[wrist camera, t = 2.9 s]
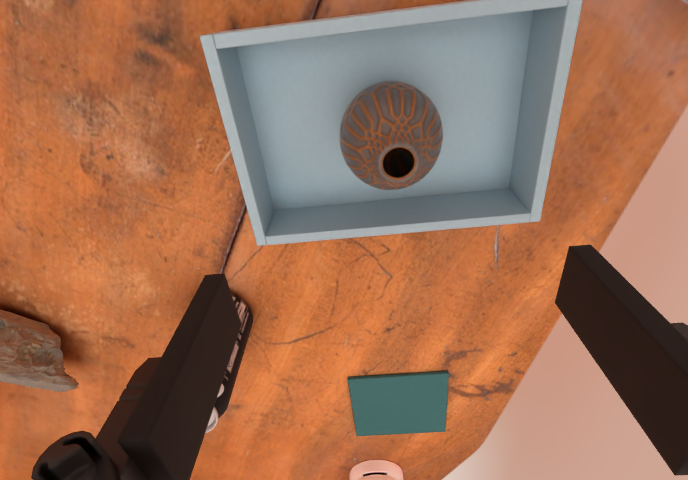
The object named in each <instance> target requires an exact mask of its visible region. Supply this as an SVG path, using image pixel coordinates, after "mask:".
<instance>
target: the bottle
mask: <svg viewBox="0 0 688 480" xmlns="http://www.w3.org/2000/svg"><path fill="white" fill-rule="evenodd" d="M375 472H380V473H386V474H387V475H380V474H377V475H368V476H364V477H363V474H368V473H375ZM350 480H403V473H402V469H401V468H400V467H399V466H398V465H396V464H395V463H393V462H389V461H386V460H368V461H364V462H361V463H359V464H357V465H355V466H354V467H353V468H352V469H351V471H350Z"/></svg>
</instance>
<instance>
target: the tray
mask: <svg viewBox="0 0 688 480" xmlns="http://www.w3.org/2000/svg"><path fill="white" fill-rule="evenodd" d="M582 2H583V0H464V1H456V2H449V3H441V4H433V5H425V6H417V7H409V8H401V9H393V10H385V11H377V12H370V13H362V14H354V15H346V16H338V17H330V18H322V19H314V20H306V21H298V22H290V23H283V24H275V25H267V26H259V27H251V28H243V29H235V30H227V31H221V32H216V33H211V34H206V35H201V36H200V40H201V44H202V47H203V51H204V55H205V58H206V62H207V65H208V69H209V73H210V76H211V80H212V84H213V87H214V91H215V94H216V98H217V102H218V105H219V109H220V113H221V116H222V120H223V123H224V127H225V131H226V134H227V138H228V141H229V145H230V149H231V152H232V156H233V160H234V163H235V167H236V170H237V174H238V178H239V181H240V185H241V189H242V192H243V196H244V199H245V203H246V207H247V210H248V214H249V218H250V221H251V225H252V228H253V232H254V236H255V239H256V243H257V246H262V245H275V244H286V243H298V242H309V241H320V240H332V239H343V238H355V237H366V236H378V235H389V234H401V233H412V232H424V231H435V230H447V229H458V228H469V227H481V226H492V225H504V224H515V223H527V222H538V221H540V218H541V213H542V208H543V203H544V198H545V192H546V187H547V182H548V177H549V172H550V167H551V161H552V156H553V151H554V146H555V141H556V136H557V130H558V125H559V120H560V115H561V110H562V105H563V100H564V94H565V89H566V84H567V79H568V74H569V69H570V63H571V58H572V53H573V48H574V43H575V38H576V32H577V27H578V22H579V17H580V12H581V7H582ZM384 81H399V82H404V83H407V84H410V85H412V86H414V87H416V88H418V89H419V90H421V91H422V92H423V93H425V94H426V95H427V96H428V97H429V98H430V100H431V101H432V102H433V104H434V105H435V107H436V108H437V110H438V112H439V115H440V118H441V122H442V128H443V141H442V147H441V151H440V154H439V157H438V159H437V161H436V163H435V165H434V166H433V168H432V169H431V170H430V172H429V173H428V174H427V175H426V176H425V177H424V178H422V179H421V180H420V181H418V182H417V183H415V184H413V185H411V186H409V187H406V188H403V189H398V190H383V189H378V188H375V187H372V186H370V185H368V184H366V183H364V182H363V181H361V180H360V179H359V178H358V177H357V176H355V175H354V173H353V172H352V171H351V170H350V168H349V167H348V166H347V164H346V162H345V160H344V158H343V155H342V152H341V148H340V137H339V135H340V126H341V121H342V118H343V115H344V113H345V111H346V109H347V107H348V105H349V104H350V102H351V101H352V100H353V99H354V98H355V96H356V95H358V94H359V93H360V92H361V91H362V90H364V89H365V88H367V87H369V86H371V85H373V84H376V83H380V82H384Z"/></svg>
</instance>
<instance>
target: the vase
mask: <svg viewBox="0 0 688 480" xmlns="http://www.w3.org/2000/svg"><path fill="white" fill-rule="evenodd" d="M339 137H340V148H341V152H342V155H343V158H344V160H345V162H346V164H347V166H348V167H349V168H350V170H351V171H352V172H353V173H354V175H355V176H357V177H358V178H359V179H360V180H361V181H363V182H364V183H366V184H368V185H370V186H372V187H375V188H378V189H383V190H398V189H403V188H406V187H409V186H411V185H413V184H415V183H417V182H418V181H420V180H421V179H422V178H424V177H425V176H426V175H427V174H428V173H429V172H430V170H431V169H432V168H433V166H434V165H435V163H436V161H437V159H438V157H439V154H440V151H441V147H442V141H443V128H442V122H441V118H440V115H439V112H438V110H437V108H436V107H435V105H434V104H433V102H432V101H431V100H430V98H429V97H428V96H427V95H426V94H425V93H423V92H422V91H421V90H419V89H418V88H416V87H414V86H412V85H410V84H407V83H404V82H399V81H384V82H380V83H376V84H373V85H371V86H369V87H367V88H365V89H364V90H362V91H361V92H360V93H359V94H358V95H356V96H355V98H354V99H353V100H352V101H351V102H350V104H349V105H348V107H347V109H346V111H345V113H344V115H343V118H342V121H341V126H340V135H339Z"/></svg>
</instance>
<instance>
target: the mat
mask: <svg viewBox="0 0 688 480" xmlns="http://www.w3.org/2000/svg"><path fill="white" fill-rule="evenodd" d="M448 378H449V372H448V371H438V372H422V373H406V374H390V375H374V376H358V377H348V384H349V391H350V397H351V403H352V409H353V416H354V422H355V428H356V435H357V436H370V435H389V434H408V433H427V432H445V427H446V411H447V395H448Z"/></svg>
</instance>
